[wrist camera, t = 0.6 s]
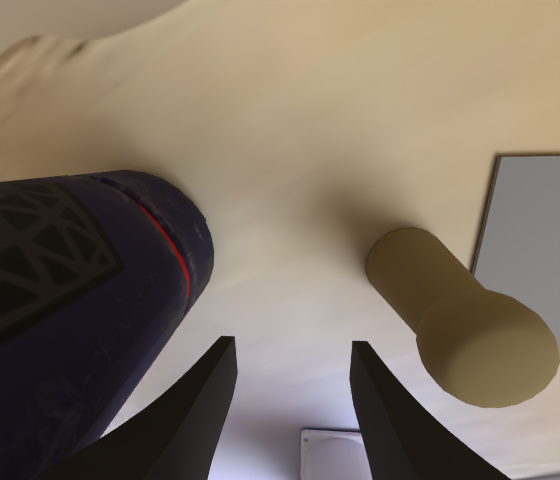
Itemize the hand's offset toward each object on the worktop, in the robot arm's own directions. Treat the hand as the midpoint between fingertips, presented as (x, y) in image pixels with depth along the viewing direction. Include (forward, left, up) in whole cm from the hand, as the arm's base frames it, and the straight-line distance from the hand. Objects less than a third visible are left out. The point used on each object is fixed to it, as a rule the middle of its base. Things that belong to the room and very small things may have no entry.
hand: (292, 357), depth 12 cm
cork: (0, -9, -11) cm, 14 cm away
